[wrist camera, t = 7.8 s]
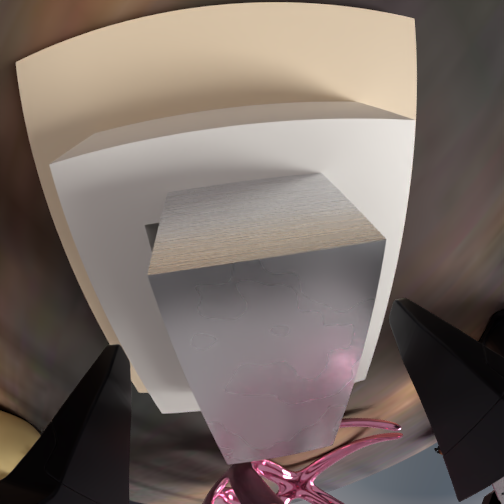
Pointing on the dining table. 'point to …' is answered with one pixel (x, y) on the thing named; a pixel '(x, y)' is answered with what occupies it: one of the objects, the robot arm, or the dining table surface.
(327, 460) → the pink openwork sphere
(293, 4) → the cream square frame
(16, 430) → the sculpture
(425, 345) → the robot arm
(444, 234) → the dining table surface
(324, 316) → the grey wooden block
